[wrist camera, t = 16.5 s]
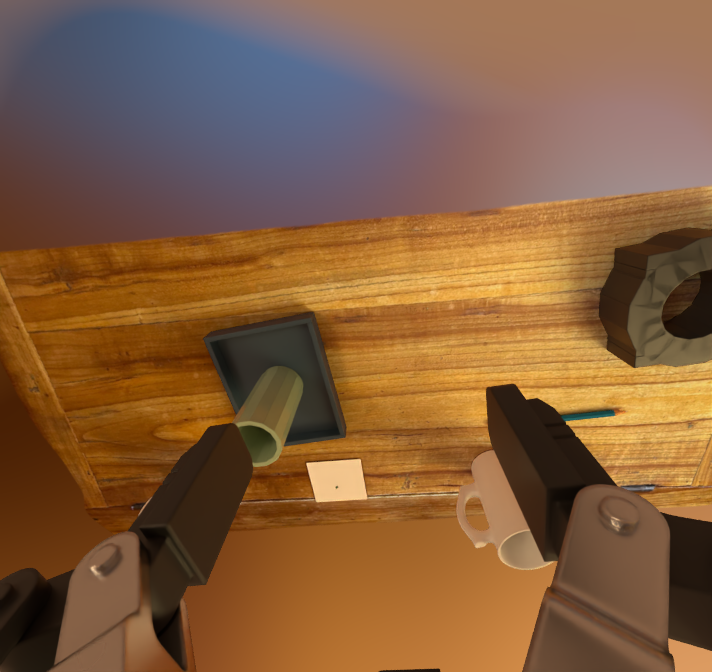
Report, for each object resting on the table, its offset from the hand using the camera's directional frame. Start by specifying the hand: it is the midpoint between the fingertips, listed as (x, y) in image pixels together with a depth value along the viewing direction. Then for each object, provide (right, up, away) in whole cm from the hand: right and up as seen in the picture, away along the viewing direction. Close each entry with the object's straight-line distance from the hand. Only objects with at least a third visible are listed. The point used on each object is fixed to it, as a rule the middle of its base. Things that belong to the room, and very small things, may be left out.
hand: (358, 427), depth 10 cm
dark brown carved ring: (+34, +8, +25) cm, 43 cm away
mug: (+18, -16, +36) cm, 44 cm away
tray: (-10, -3, +32) cm, 34 cm away
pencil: (+26, -8, +33) cm, 42 cm away
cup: (-10, -3, +32) cm, 33 cm away
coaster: (-3, -19, +39) cm, 43 cm away
